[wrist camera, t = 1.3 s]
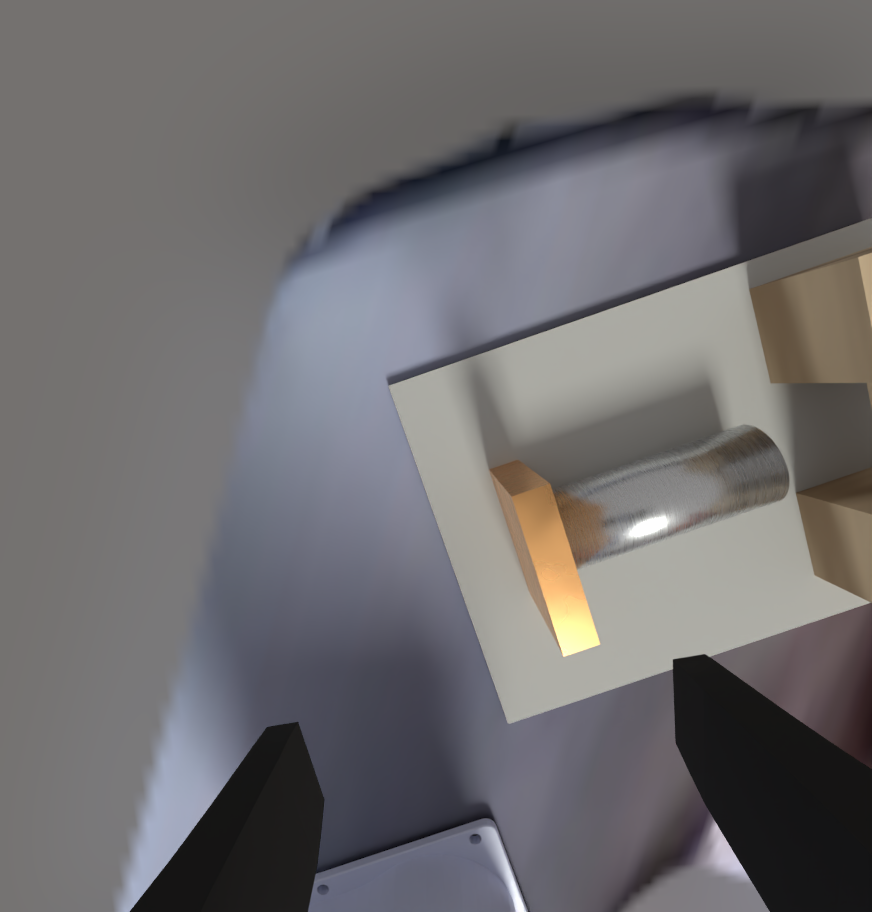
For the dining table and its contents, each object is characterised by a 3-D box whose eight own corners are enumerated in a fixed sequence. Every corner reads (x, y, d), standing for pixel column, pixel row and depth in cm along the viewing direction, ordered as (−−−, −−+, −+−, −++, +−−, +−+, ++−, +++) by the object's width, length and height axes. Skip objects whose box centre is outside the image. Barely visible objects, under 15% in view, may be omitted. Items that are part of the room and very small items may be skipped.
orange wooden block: (529, 593, 19) (563, 656, 15) (488, 469, 19) (511, 496, 14) (745, 519, 19) (846, 561, 15) (713, 392, 18) (810, 394, 14)
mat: (506, 719, 20) (508, 724, 20) (389, 385, 18) (388, 385, 18) (930, 576, 20) (938, 579, 20) (864, 220, 18) (871, 218, 18)
